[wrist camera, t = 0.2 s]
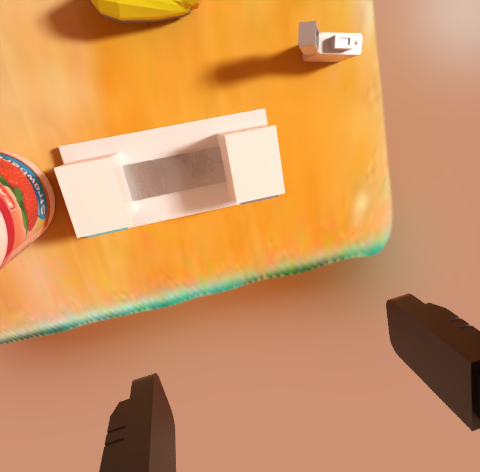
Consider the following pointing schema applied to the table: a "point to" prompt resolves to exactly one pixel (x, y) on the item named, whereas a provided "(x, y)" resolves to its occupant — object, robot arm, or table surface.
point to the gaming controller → (144, 9)
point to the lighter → (327, 44)
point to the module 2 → (252, 163)
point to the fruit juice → (22, 204)
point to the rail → (174, 173)
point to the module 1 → (96, 195)
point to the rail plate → (169, 144)
